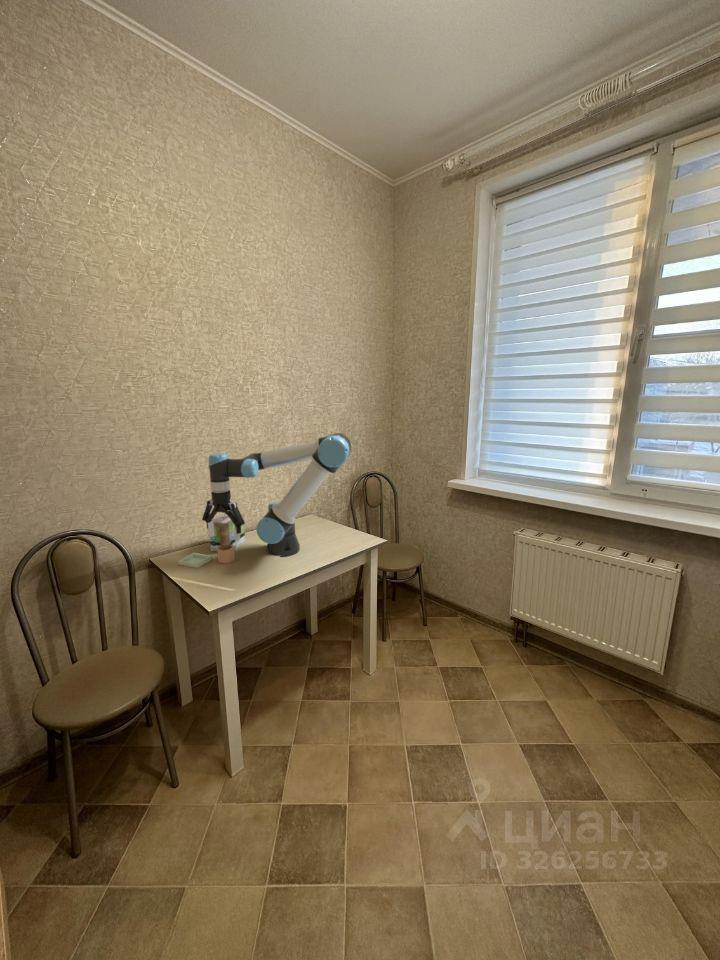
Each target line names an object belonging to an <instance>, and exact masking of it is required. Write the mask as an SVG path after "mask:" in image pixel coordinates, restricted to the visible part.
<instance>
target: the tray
mask: <svg viewBox="0 0 720 960" xmlns="http://www.w3.org/2000/svg"><path fill="white" fill-rule="evenodd" d="M212 560H213V555H208V554H203V553H197V552H192V553H191V554H189V555H187V556H184V557H183V558H180V559H179V560H177V564H178V566H184V567H188V568H194V569H198V568H201V567H202V566H203V565H206V564H207V563H209V562H211V561H212Z"/></svg>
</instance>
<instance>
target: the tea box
mask: <svg viewBox="0 0 720 960" xmlns="http://www.w3.org/2000/svg"><path fill="white" fill-rule="evenodd" d="M240 514H241V516H242V518H243V520H244V521H245V514H244V513H240ZM212 521H213V523H214V536H212V537H209V544H210V546H209V547H210V551H211V552H212V551H214V552H218V551H217V548H218V547H219V546H220V534H219V527H220V526H229V535H230V545H233V546H234V549H236V548H238V547H239V546H241V544H243V543H245V542H246V530H245V524H243V525H241V533H240V540H238V541H237V542H236V541H235V536H234V526H235V525H234V523H233V522H232V521H231V519H230V518H229V516H228V515H227V514H225V513H224V514H222V515H220V516H218V517H216V518H213V519H212Z"/></svg>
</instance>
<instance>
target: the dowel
mask: <svg viewBox="0 0 720 960" xmlns="http://www.w3.org/2000/svg"><path fill="white" fill-rule="evenodd" d="M219 534H220V546H221V550H227V549H230V535H229V526H220V527H219Z"/></svg>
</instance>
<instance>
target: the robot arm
mask: <svg viewBox="0 0 720 960" xmlns="http://www.w3.org/2000/svg"><path fill="white" fill-rule="evenodd" d="M351 451H352V443H351V441H350V439H349V438H348V436H346V435H344V434H342V433H340V432H339V433H337V432H335V433H332V434H329V435H327V436H324V437H318V438H317V440H314V441H311V442H305V443H301V444H296V445H291V446H285V447H282V448H281V447H280V448H276V449H272V450H267V451H261V452H254V453H253V452H252V453H250V454H249V455H246V456H244V457H242V458H229V456H228V454H227V453H222V452H221V453H212V454H210V455H209V456H208V469H209V480H210V483H209V484H210V491H211V492H210V495H211V499H209V500H207V501H206V506H205V509H204V512H203V515H202V518H201V520H202V521H203V522H205V523H206V529H207V530H208V531H207V532H208V538H210V537H212V536H214V523H213V521H212V520H214V519H215V518H214V517H215V516H216V515H217V513H224V514H227V515H228V516H229V518H230V519H231V521H232V522H233V523H234V525H235V526H234V536H235V541H236V542H237V541H238V540H240V533H241V525H243V524H244V525H245V524H246V523H245V519H244V520H243V518H242V516H241V514H242V513H241V511H240V509H239V507H238V503H237V502H231V498H232V496H231V490H230V489H231V485H230V483H231V481H230V478H247V479H249V478H255V477H256V476H257V477H258V473H259V471H263V470H266V469H271V468H276V467H282V466H286V465H292V464H296V463H302V462H307V461H311V463H309V465H308V466H307V467H306V468H305V470H304V471H303V472H302V474H301V475H300V476H299V478H298V479H297V480H296V481H295V483H294V484H293V485H292V487H291V488H290V489H289V490H288V491H287V493H286V494H285V495H284V496H283V497H282V499H281V501H274V502H270V503H269V504H268V505H267V512H266V514H265V515H264V516H263V517H262V519H260V520H258V523H257V524H256V525H257V526H256V533H257V536H258V537H259V539H260V540H261V541H262V542H264V543H266V552H267V553H268V554H270V555H272V556H279V557H289V556H293V555H295V554H297V553H298V552H299V551H300V550H301V549H300V548H301V545H300V542H299V538H298V537H297V534H296V516H297V515H298V513H299V512H300V511H301V510H302V508H303V507H304V506H305V505H306V503H307V502H308V501H309V500H310V498H311V497H312V496H313V495H314V494H315V492H316V491H317V490H318V488H319V487H320V486H321V485H322V484H323V483H324V481H325V480H326V479H327V477H328V476H330V475H335V473H336V472H337V471H338V470H339V469H340V467H341V466H342V465H343V464H344V463H345V462H346V461H347V460H348V458H349V456H350V453H351Z"/></svg>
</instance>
